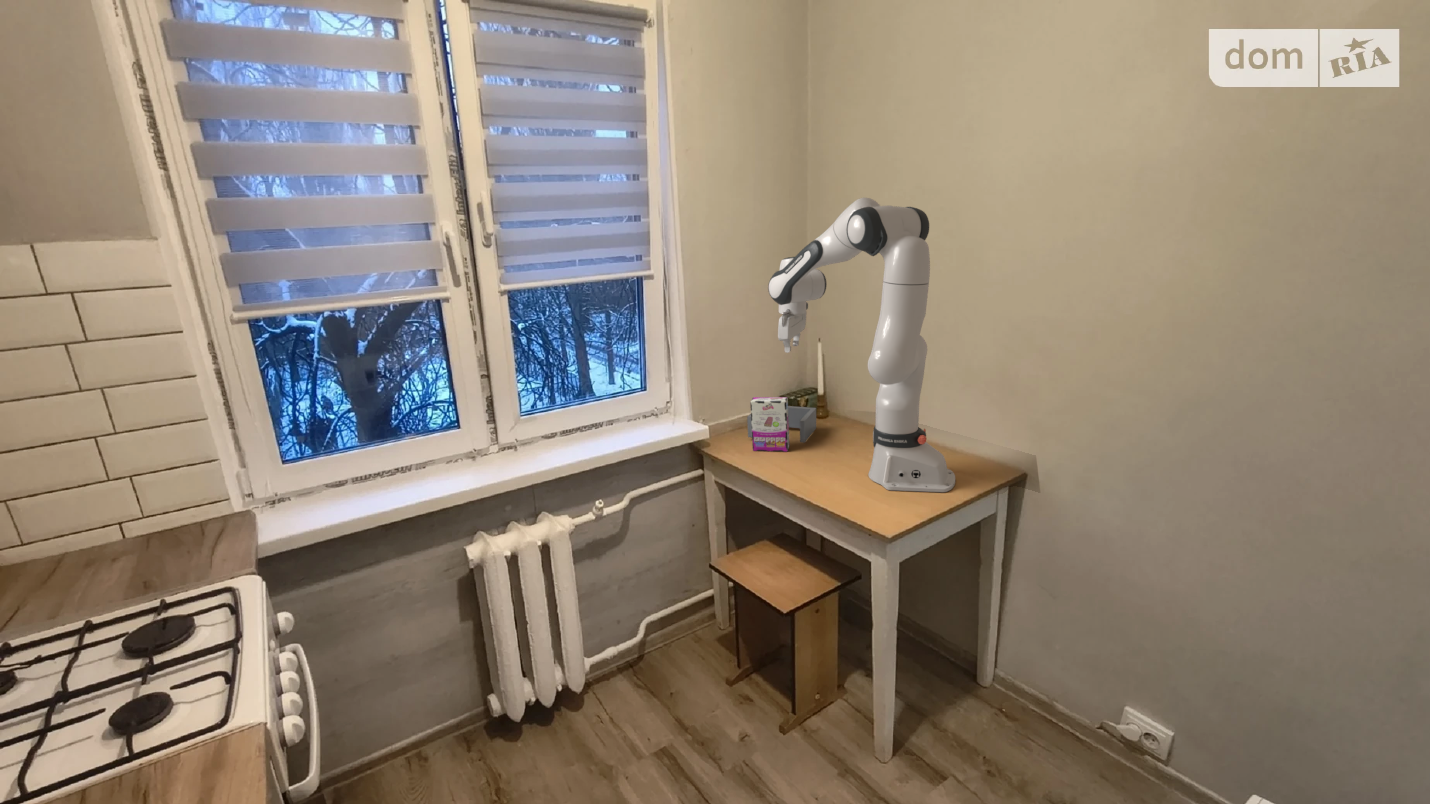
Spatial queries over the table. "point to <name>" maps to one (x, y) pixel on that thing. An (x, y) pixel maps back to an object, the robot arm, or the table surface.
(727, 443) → the table surface
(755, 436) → the candy bar box
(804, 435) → the gray u-shaped holder
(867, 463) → the table surface
